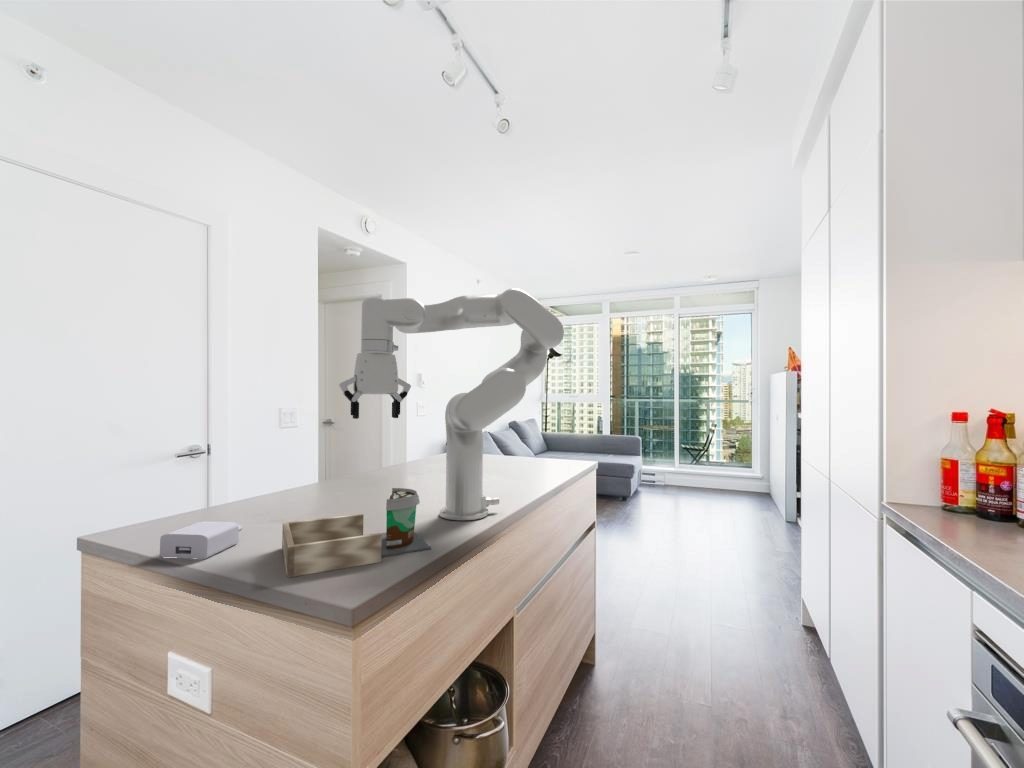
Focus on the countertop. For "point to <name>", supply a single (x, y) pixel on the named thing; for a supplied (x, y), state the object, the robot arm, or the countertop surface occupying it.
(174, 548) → the charger
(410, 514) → the food container
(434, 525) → the countertop surface
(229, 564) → the countertop surface
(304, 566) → the open box
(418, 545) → the mat
